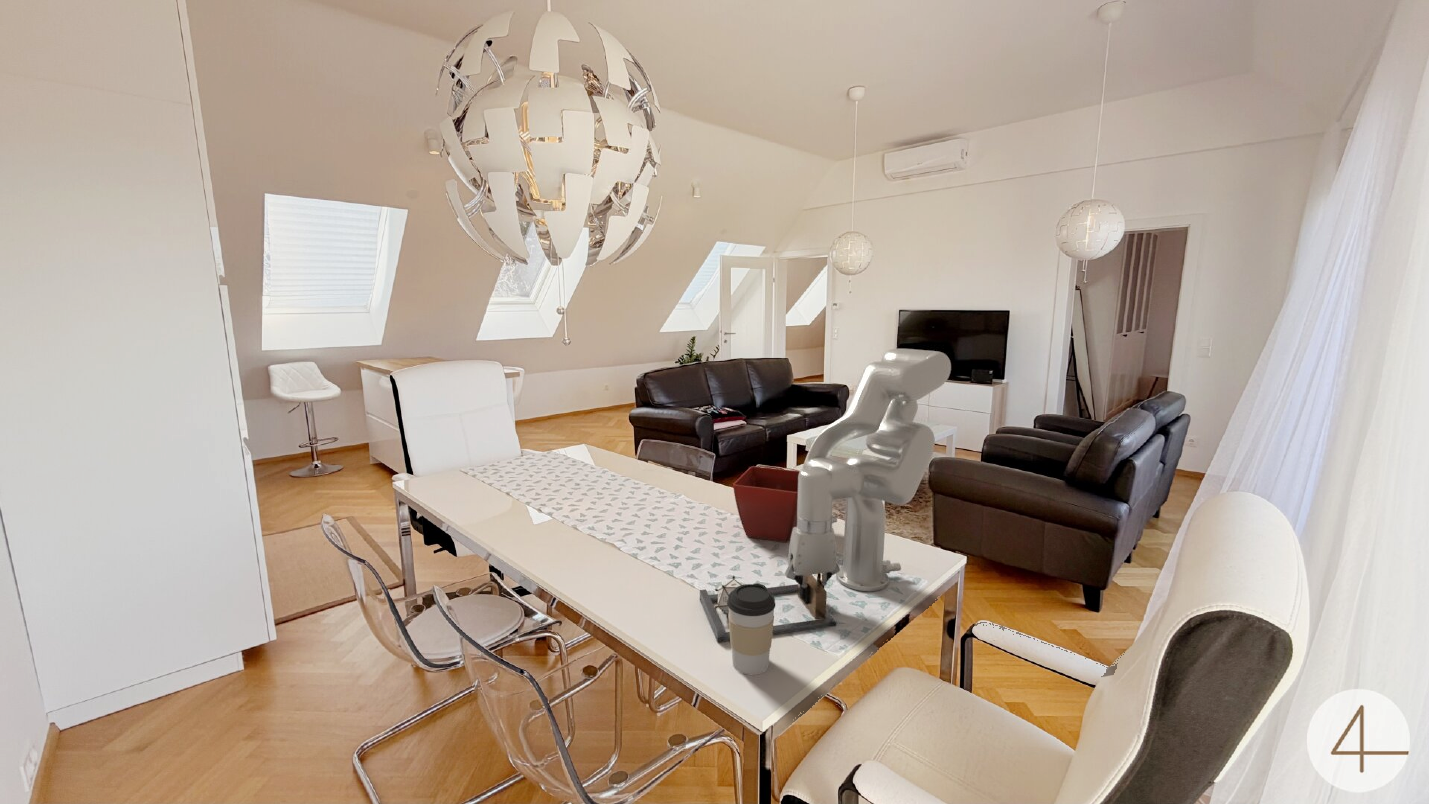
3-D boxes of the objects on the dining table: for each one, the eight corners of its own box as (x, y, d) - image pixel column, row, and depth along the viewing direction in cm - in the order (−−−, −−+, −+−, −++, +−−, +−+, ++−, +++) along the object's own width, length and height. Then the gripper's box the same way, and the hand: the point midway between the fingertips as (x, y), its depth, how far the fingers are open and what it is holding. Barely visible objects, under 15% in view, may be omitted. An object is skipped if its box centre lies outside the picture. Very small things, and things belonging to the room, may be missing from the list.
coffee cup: (754, 685, 104) (755, 608, 102) (717, 664, 110) (717, 591, 108) (783, 662, 111) (785, 589, 108) (746, 643, 117) (747, 574, 114)
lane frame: (805, 587, 139) (805, 563, 138) (835, 625, 123) (837, 599, 122) (699, 600, 133) (699, 576, 132) (717, 642, 117) (717, 615, 116)
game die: (729, 626, 130) (729, 580, 134) (761, 623, 125) (760, 576, 130) (705, 622, 123) (706, 573, 128) (738, 619, 119) (738, 569, 123)
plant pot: (796, 550, 160) (798, 491, 157) (731, 540, 167) (731, 484, 164) (810, 524, 178) (811, 472, 175) (750, 516, 184) (751, 465, 181)
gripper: (840, 514, 133) (837, 588, 136) (773, 520, 129) (772, 596, 132) (855, 526, 126) (852, 604, 129) (785, 533, 122) (783, 613, 125)
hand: (811, 599), depth 131 cm, fingers closed on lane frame, 2 cm apart
